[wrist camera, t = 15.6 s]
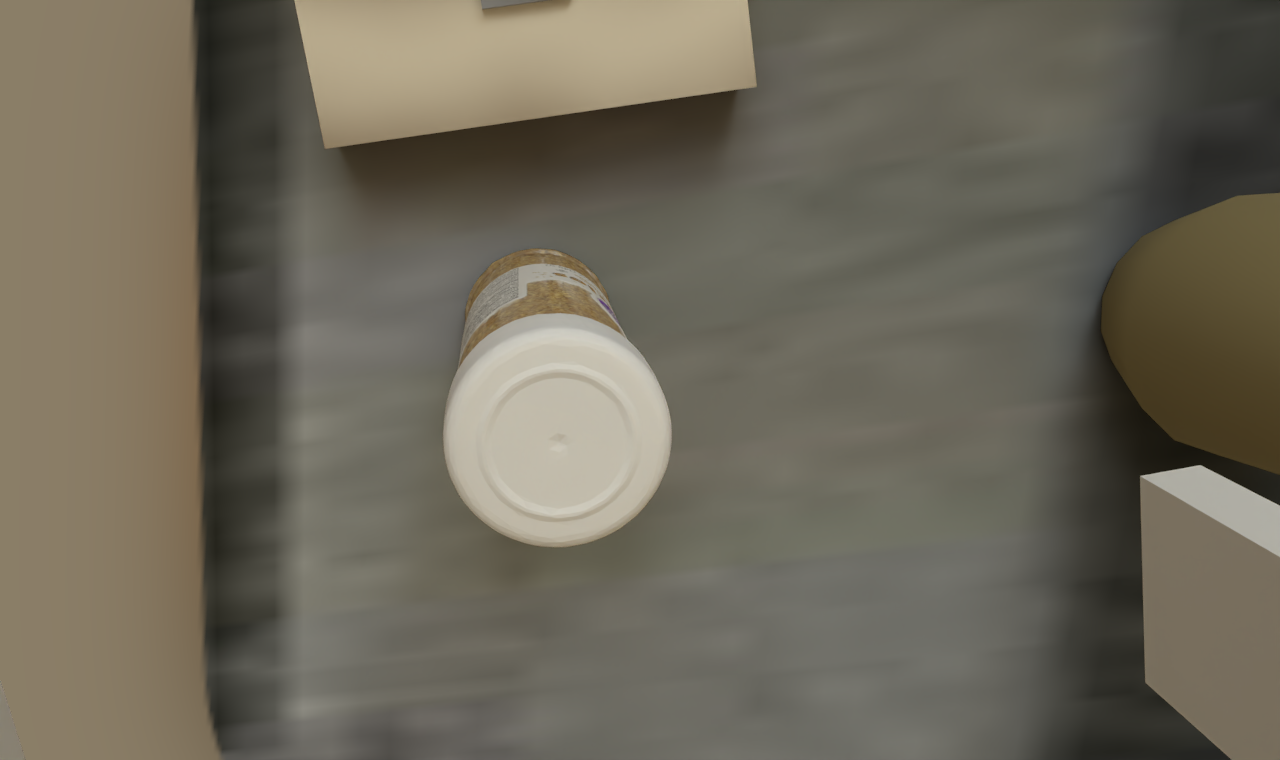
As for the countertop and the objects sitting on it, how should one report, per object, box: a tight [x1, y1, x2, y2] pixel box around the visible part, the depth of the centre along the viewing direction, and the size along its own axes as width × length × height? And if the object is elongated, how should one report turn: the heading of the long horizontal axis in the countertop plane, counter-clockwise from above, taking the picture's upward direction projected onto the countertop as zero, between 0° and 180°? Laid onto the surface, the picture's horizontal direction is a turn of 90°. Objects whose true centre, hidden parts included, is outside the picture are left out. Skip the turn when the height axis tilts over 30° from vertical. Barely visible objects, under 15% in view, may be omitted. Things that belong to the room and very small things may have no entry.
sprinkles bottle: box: [443, 249, 672, 547], centre depth 28 cm, size 5×5×14 cm
